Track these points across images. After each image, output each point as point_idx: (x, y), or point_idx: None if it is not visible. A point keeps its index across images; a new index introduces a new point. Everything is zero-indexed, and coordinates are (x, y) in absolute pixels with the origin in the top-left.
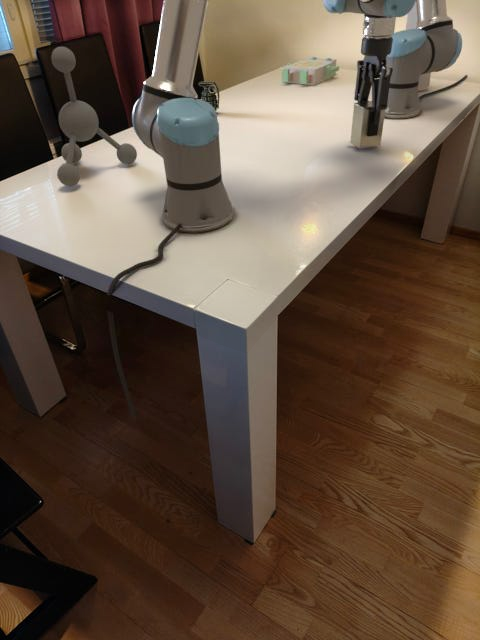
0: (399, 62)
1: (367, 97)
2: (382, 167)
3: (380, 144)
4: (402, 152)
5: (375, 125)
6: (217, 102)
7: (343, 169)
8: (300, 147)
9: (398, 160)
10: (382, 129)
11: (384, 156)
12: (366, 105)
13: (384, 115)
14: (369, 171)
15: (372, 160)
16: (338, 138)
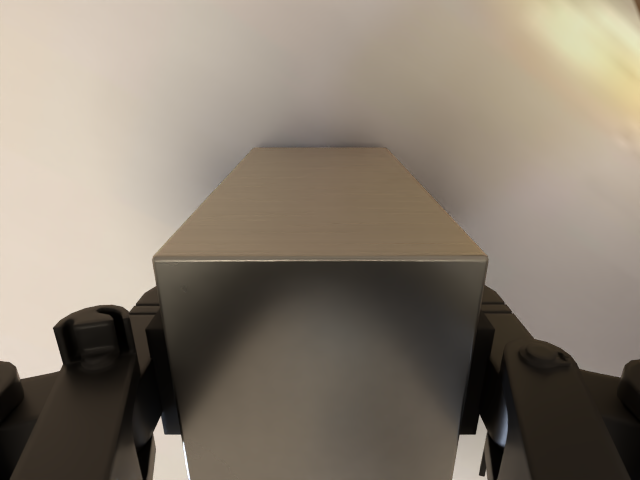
0: None
1: (129, 423)
2: (629, 282)
3: (386, 148)
4: (519, 37)
5: None
6: None
7: None
8: (178, 470)
9: (612, 150)
10: (407, 172)
11: (507, 188)
12: (364, 478)
13: (440, 206)
14: (624, 355)
15: (517, 277)
16: (93, 271)
